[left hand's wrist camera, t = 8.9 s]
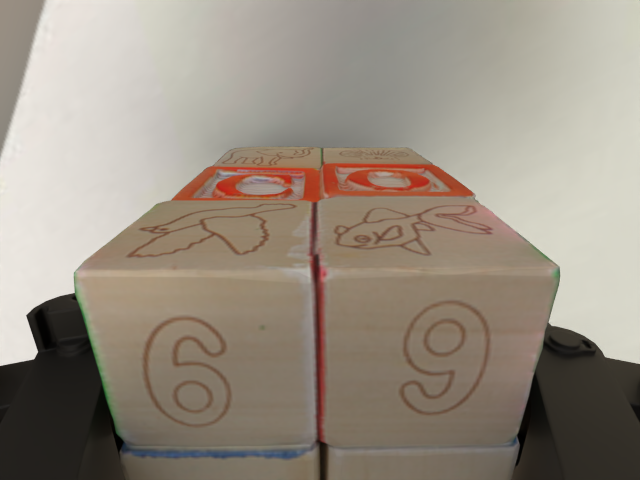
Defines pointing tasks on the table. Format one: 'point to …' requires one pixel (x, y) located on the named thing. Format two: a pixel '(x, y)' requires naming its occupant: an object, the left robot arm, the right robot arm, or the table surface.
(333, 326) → the stack of blocks
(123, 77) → the table surface
